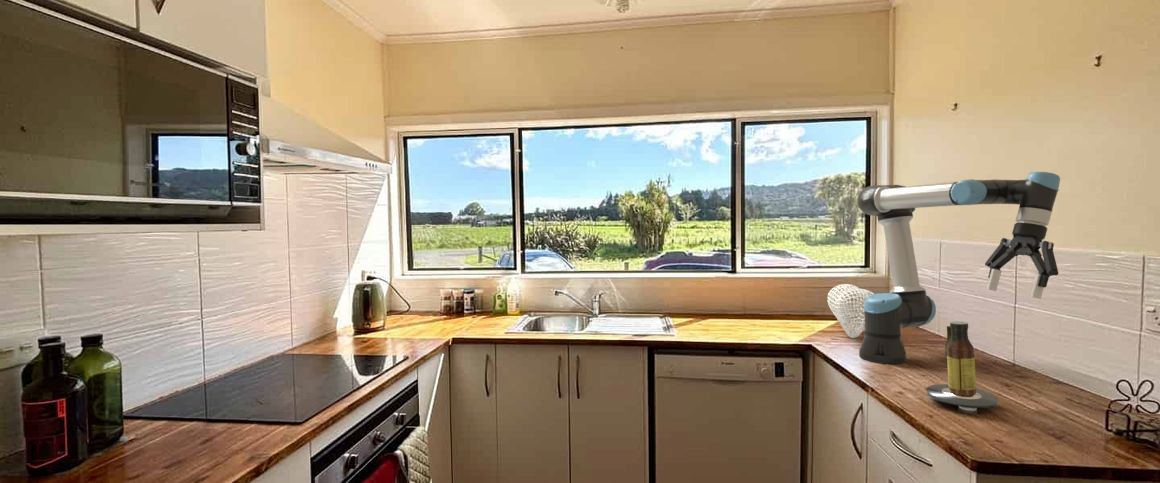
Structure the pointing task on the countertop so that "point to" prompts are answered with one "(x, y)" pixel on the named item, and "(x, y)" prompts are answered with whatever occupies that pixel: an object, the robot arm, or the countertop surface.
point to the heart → (839, 313)
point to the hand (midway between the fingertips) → (1012, 293)
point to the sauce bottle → (961, 361)
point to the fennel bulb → (948, 338)
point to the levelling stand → (962, 398)
